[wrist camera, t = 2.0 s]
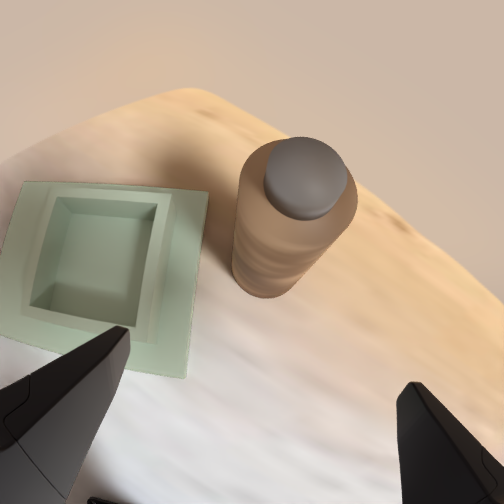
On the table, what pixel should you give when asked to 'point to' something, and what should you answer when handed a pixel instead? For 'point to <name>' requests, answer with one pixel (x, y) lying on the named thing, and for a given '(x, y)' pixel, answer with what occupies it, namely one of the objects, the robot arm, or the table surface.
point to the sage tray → (104, 269)
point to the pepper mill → (288, 213)
